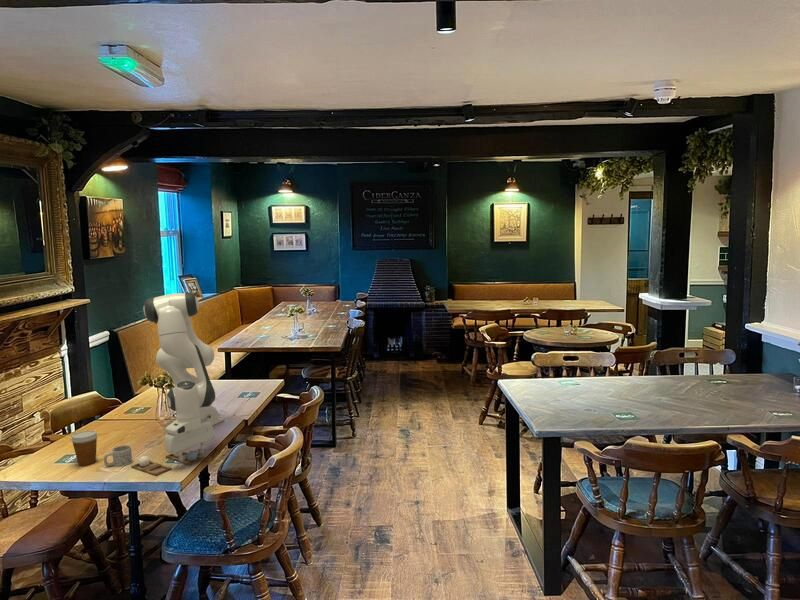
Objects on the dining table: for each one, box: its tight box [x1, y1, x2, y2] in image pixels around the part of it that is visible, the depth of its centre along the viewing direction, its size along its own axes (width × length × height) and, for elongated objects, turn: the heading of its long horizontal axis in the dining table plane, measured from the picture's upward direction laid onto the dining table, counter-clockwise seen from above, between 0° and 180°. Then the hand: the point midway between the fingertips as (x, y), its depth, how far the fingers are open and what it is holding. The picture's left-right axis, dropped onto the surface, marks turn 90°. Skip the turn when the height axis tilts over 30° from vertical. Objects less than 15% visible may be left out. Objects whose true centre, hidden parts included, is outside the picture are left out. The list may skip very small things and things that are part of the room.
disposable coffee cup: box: [70, 429, 99, 467], centre depth 237 cm, size 10×10×12 cm
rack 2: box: [165, 450, 206, 466], centre depth 237 cm, size 16×7×1 cm, turn 56°
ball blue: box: [187, 450, 198, 461], centre depth 234 cm, size 4×4×4 cm
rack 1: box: [130, 460, 173, 477], centre depth 228 cm, size 16×7×1 cm, turn 56°
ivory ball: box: [138, 455, 151, 467], centre depth 230 cm, size 4×4×4 cm
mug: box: [103, 445, 133, 467], centre depth 234 cm, size 10×7×7 cm, turn 127°
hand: (191, 456), depth 234 cm, fingers open, 7 cm apart
